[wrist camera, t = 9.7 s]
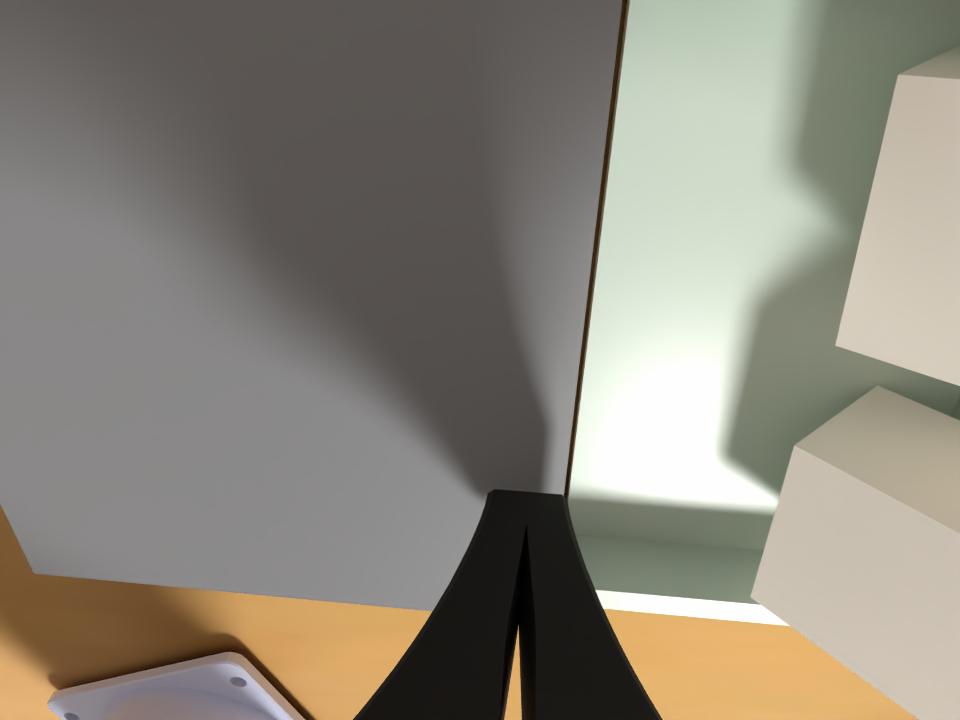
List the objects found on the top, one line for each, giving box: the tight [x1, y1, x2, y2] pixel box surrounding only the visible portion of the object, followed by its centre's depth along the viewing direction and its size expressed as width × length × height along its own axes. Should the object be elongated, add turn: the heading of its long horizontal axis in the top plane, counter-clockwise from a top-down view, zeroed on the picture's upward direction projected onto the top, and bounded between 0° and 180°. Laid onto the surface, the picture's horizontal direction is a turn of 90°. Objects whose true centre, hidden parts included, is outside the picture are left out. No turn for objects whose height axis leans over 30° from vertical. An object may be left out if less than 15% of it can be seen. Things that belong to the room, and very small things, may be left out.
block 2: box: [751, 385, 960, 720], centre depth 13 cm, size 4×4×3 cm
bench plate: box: [0, 0, 622, 611], centre depth 13 cm, size 12×13×2 cm
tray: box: [567, 0, 960, 626], centre depth 13 cm, size 8×13×2 cm, turn 179°
